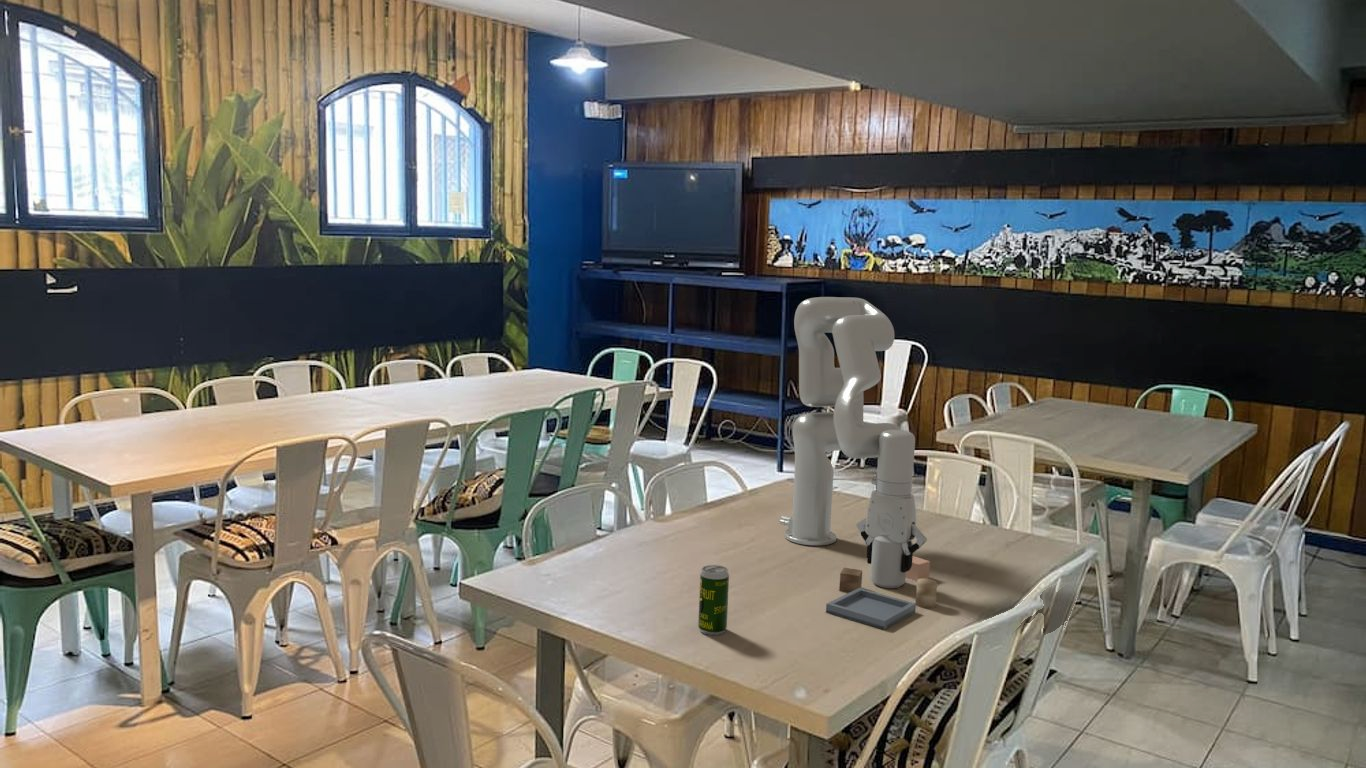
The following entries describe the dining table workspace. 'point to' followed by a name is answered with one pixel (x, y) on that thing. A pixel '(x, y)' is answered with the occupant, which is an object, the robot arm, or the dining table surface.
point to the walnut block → (850, 579)
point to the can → (886, 562)
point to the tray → (871, 608)
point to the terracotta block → (918, 569)
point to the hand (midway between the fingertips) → (888, 566)
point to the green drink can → (713, 600)
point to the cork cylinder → (926, 593)
